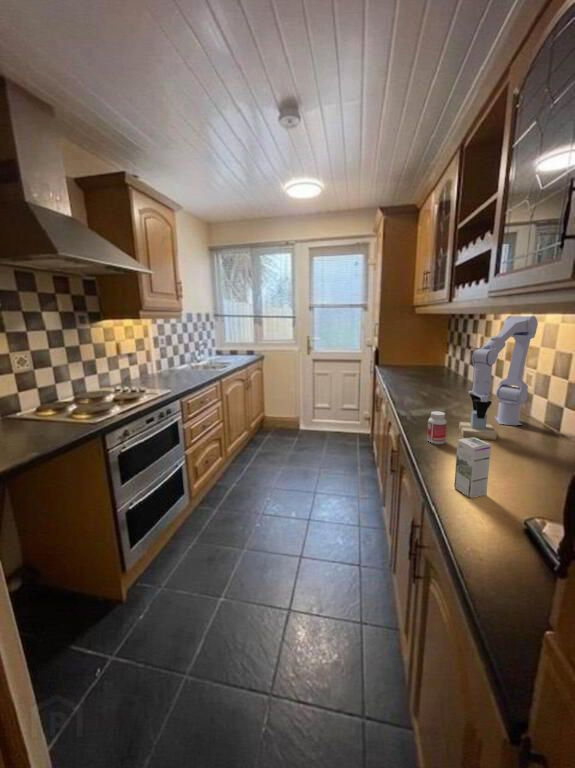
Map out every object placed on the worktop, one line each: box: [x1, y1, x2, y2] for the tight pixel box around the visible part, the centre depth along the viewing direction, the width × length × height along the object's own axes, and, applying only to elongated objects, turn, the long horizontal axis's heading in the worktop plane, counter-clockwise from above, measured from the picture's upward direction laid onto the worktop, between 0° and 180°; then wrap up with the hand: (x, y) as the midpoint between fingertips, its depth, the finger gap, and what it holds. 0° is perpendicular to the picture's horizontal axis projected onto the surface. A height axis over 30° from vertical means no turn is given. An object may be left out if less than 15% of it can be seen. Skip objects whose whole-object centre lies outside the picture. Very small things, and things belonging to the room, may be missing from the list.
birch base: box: [458, 421, 498, 441], centre depth 131 cm, size 11×11×2 cm
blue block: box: [470, 409, 488, 430], centre depth 130 cm, size 4×4×6 cm
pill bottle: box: [426, 410, 447, 445], centre depth 123 cm, size 6×6×11 cm
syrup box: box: [453, 437, 492, 498], centre depth 89 cm, size 6×6×14 cm
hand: (478, 415), depth 130 cm, fingers open, 7 cm apart
